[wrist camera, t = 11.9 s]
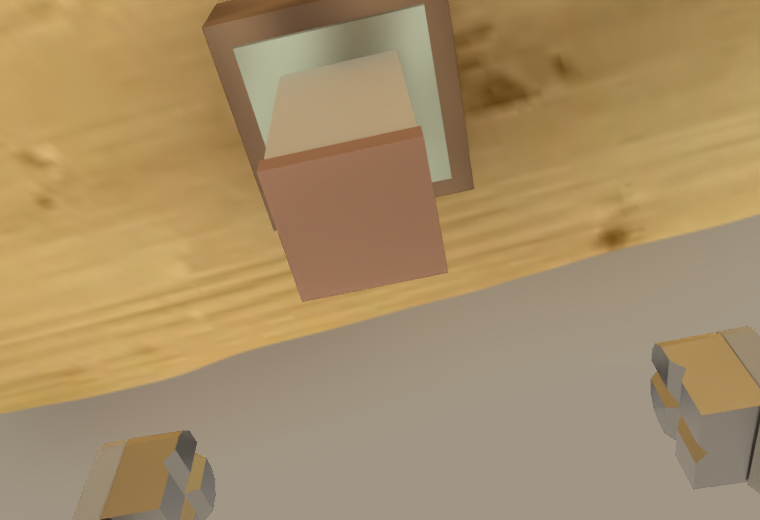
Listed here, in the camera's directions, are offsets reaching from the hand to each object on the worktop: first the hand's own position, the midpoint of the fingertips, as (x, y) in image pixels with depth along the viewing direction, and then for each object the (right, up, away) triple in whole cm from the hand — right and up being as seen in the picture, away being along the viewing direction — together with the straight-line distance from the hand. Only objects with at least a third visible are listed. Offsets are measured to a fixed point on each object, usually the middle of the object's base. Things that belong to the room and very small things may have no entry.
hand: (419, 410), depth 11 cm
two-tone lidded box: (-2, +9, +17) cm, 20 cm away
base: (-2, +11, +21) cm, 24 cm away
